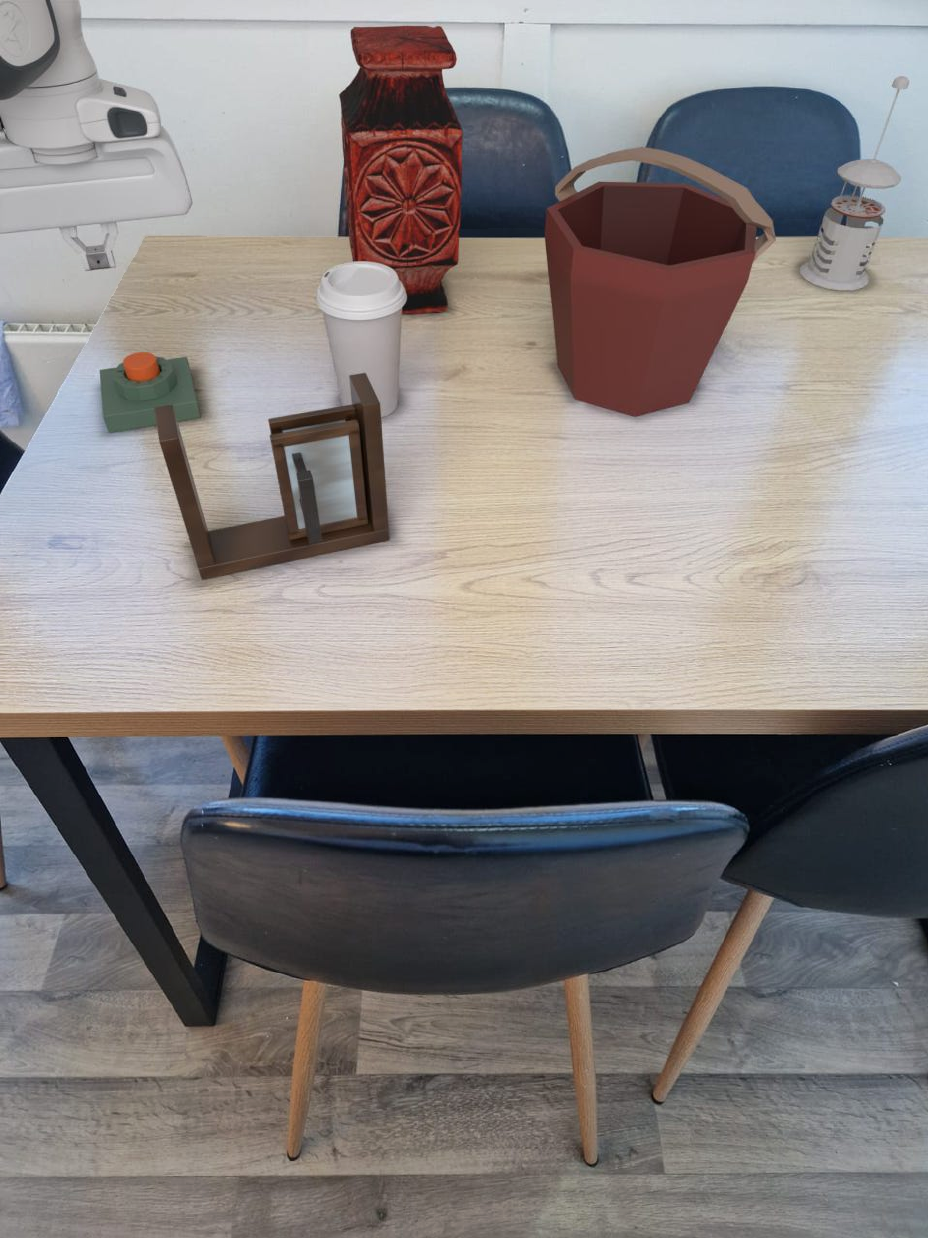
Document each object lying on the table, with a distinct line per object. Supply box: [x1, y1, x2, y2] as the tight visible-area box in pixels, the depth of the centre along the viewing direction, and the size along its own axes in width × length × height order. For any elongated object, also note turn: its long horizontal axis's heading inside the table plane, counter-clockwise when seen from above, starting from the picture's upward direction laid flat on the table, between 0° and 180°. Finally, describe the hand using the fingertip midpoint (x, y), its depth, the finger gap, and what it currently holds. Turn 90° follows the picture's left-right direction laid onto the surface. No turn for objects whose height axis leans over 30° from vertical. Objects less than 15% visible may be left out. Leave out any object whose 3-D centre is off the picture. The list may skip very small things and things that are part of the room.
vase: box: [338, 25, 464, 316], centre depth 104 cm, size 14×14×30 cm
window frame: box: [154, 373, 390, 581], centre depth 75 cm, size 18×5×16 cm, turn 109°
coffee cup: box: [315, 261, 407, 419], centre depth 91 cm, size 10×10×15 cm
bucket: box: [544, 146, 777, 418], centre depth 92 cm, size 24×22×25 cm
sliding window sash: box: [269, 420, 368, 544], centre depth 74 cm, size 8×5×11 cm
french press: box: [799, 75, 910, 291], centre depth 113 cm, size 10×12×25 cm
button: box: [122, 351, 160, 382], centre depth 93 cm, size 4×4×2 cm
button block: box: [99, 356, 202, 434], centre depth 95 cm, size 10×10×4 cm
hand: (100, 267), depth 83 cm, fingers closed
